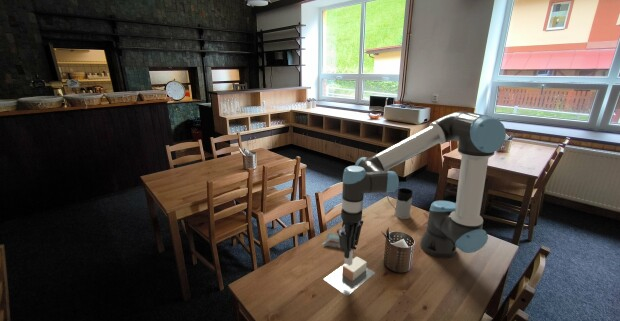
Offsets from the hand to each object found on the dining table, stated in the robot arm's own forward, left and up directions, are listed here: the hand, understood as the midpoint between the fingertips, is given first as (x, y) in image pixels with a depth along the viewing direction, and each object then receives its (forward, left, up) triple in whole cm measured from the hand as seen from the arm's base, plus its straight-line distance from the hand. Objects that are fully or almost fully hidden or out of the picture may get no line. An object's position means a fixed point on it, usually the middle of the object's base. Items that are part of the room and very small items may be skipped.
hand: (348, 263), depth 110 cm
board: (-1, -1, -8) cm, 8 cm away
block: (0, 0, -5) cm, 5 cm away
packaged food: (+3, -22, -9) cm, 24 cm away
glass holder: (-35, -54, -8) cm, 65 cm away
